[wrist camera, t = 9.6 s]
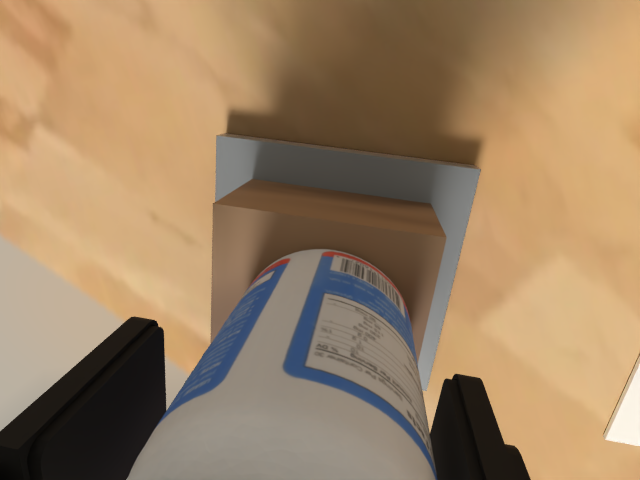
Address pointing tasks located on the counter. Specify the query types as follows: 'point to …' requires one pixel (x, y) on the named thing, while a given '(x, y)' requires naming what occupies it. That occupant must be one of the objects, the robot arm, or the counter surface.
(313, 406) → the pill bottle
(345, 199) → the brown square block
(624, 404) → the page
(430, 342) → the baseplate
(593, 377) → the counter surface
